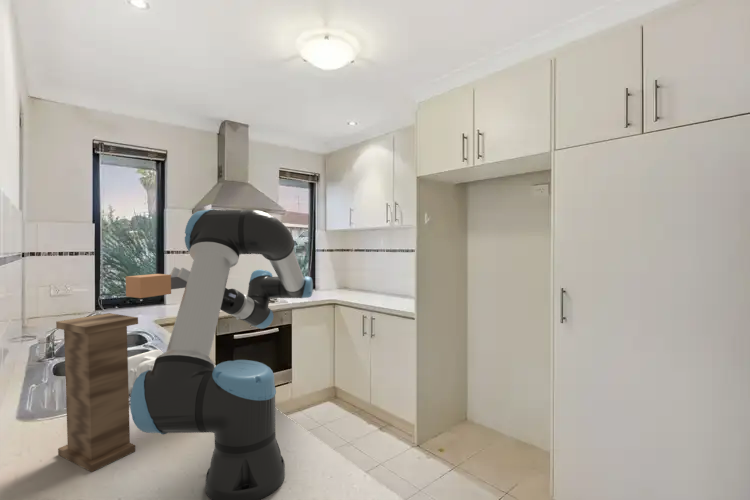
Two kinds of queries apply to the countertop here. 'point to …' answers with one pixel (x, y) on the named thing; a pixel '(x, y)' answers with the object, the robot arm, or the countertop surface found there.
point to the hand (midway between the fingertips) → (176, 272)
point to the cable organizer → (140, 365)
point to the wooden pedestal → (96, 389)
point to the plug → (152, 285)
